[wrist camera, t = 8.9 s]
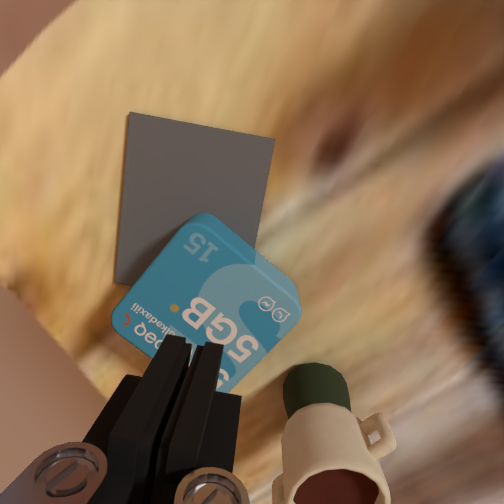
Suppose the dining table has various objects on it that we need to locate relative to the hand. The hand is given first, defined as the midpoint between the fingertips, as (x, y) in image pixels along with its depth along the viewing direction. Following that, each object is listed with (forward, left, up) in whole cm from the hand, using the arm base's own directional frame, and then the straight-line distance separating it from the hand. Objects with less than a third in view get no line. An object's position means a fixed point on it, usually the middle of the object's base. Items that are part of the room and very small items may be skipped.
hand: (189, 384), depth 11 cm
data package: (-2, +2, -21) cm, 21 cm away
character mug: (-10, +15, -23) cm, 29 cm away
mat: (+4, 0, -23) cm, 24 cm away
